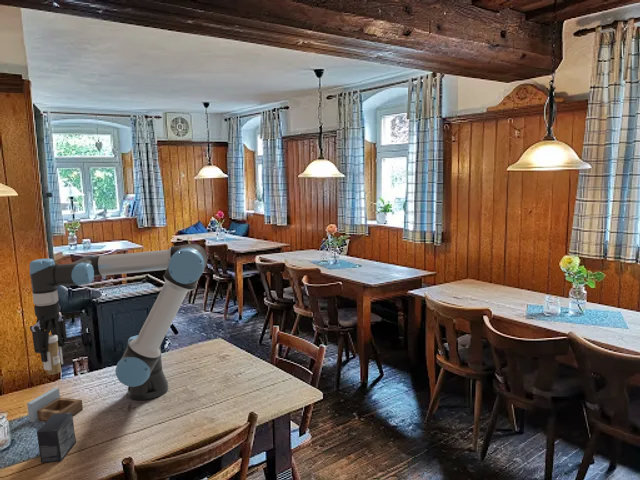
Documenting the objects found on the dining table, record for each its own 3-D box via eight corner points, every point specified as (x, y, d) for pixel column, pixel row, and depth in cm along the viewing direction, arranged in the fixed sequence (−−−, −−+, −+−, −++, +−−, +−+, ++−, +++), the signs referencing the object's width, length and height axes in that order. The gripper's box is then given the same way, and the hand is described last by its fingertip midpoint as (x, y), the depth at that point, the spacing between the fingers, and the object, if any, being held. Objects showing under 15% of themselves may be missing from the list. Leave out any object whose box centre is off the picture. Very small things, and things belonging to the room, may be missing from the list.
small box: (56, 443, 149) (52, 413, 148) (76, 442, 150) (73, 411, 148) (39, 463, 139) (35, 431, 137) (61, 461, 139) (58, 429, 138)
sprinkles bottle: (62, 373, 164) (57, 336, 162) (47, 376, 162) (42, 339, 160) (60, 368, 168) (56, 333, 166) (46, 371, 166) (42, 335, 164)
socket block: (82, 410, 170) (81, 399, 170) (61, 424, 161) (60, 413, 160) (60, 407, 173) (59, 397, 172) (38, 421, 163) (37, 410, 163)
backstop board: (60, 405, 174) (58, 388, 173) (34, 422, 163) (31, 403, 162) (56, 405, 175) (54, 387, 174) (29, 421, 163) (27, 403, 162)
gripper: (57, 296, 171) (64, 356, 174) (15, 309, 154) (24, 376, 157) (74, 297, 169) (80, 357, 172) (34, 310, 152) (42, 378, 155)
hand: (53, 366), depth 165 cm, fingers closed on sprinkles bottle, 4 cm apart
